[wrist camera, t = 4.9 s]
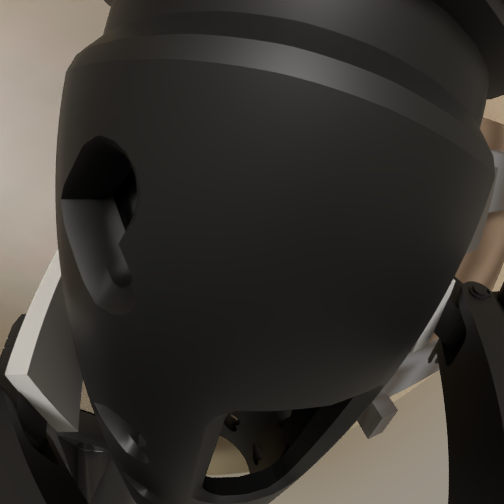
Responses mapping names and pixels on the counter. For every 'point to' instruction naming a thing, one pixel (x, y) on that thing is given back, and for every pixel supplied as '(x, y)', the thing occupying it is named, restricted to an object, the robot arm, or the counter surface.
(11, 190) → the counter surface
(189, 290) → the muzzle brake
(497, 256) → the mounting board
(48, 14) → the counter surface
